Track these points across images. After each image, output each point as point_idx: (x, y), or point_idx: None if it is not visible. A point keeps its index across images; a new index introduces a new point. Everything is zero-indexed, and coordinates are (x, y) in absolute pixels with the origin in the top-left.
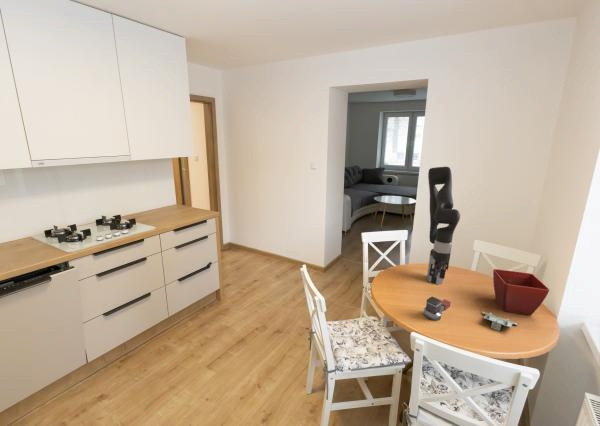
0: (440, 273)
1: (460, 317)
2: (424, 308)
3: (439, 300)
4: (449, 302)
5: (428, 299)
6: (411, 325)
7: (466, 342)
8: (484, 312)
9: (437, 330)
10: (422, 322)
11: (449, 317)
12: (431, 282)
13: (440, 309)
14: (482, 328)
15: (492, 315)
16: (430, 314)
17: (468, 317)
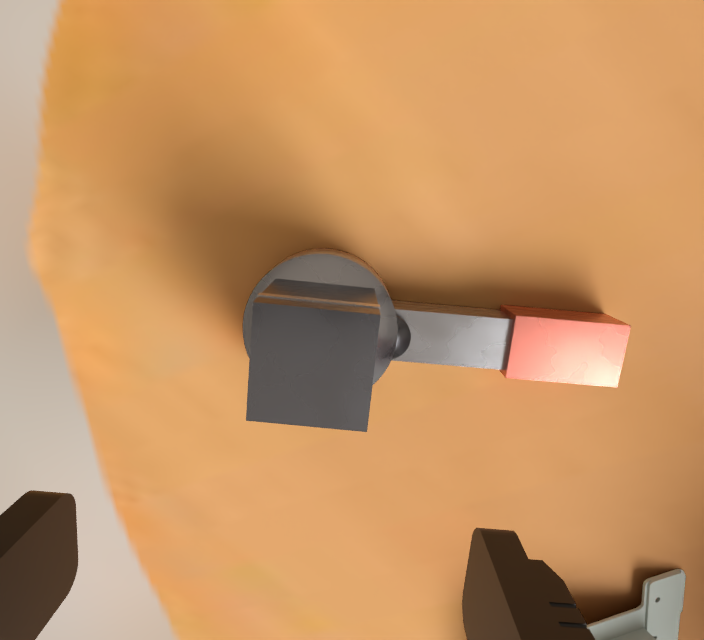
0: (509, 627)
1: (477, 480)
2: (298, 258)
3: (348, 413)
4: (598, 381)
5: (270, 313)
6: (52, 254)
7: (192, 594)
8: (678, 584)
9: (163, 422)
10: (168, 300)
11: (413, 423)
12: (30, 505)
13: (417, 362)
14: (441, 619)
15: (666, 633)
16: (244, 339)
17: (522, 520)
